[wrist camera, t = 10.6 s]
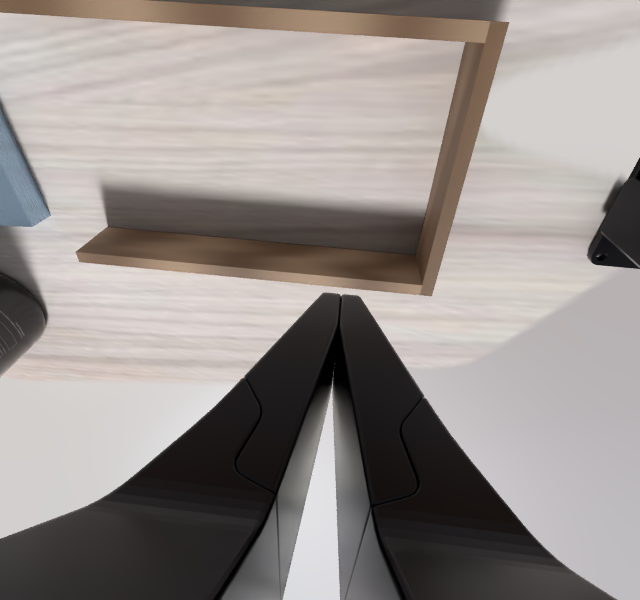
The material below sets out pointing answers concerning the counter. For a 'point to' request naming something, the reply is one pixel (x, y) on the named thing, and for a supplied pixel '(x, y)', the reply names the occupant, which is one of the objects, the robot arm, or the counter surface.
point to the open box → (297, 259)
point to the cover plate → (17, 184)
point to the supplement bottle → (17, 322)
